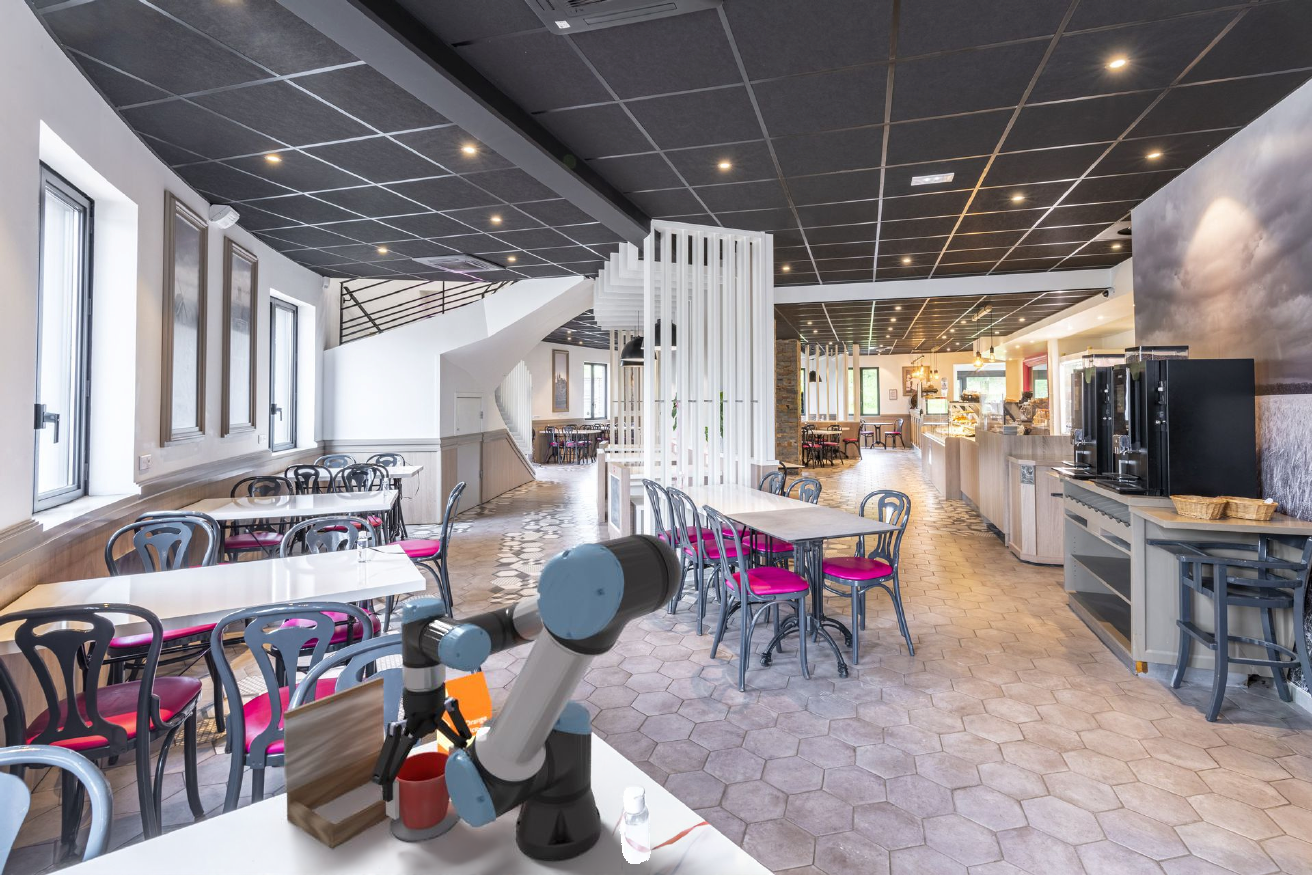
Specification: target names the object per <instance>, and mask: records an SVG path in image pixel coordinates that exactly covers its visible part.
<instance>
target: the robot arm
mask: <svg viewBox="0 0 1312 875" xmlns="http://www.w3.org/2000/svg"><path fill="white" fill-rule="evenodd" d="M682 575H683V574H682V565H681V562H680V559H679V557H678V555H677V553H676V551H675V550H674V549H673V547H672V546H671V545H670V544H669V543H668V542H667V541H665V540H663V539H661V538H660V537H658V536H654V535H652V534H646V533H644V534H643V533H639V534H638V533H637V534H632V535H631V534H630V535H627V536H622V537H617V538H612V539H609V540H603V541H599V542H594V543H590V542H589V543H588V542H587V543H582V544H581V543H580V544H578V545H575V546H572V547H571V548H568V549H565V550H562V551H560V552H558V553H557V554H555V555H554V556H553V557H552V558H550V560H548V562H547V563H546V564H545V565H544V567H543V569H542V571H541V573H540V575H539V578H538V582H537V586H536V587H537V588H536V592H537V593H536V594H535V595H532V596H530V597H527V598H525V599H523V600H520V601H518V602H515V603H513V604H511V605H509V606H506V607H502V608H499V609H495V610H492V611H487V612H484V613H483V612H482V613H479V614H477V615H471V616H469V617H465V618H461V619H457V618H452V617H449V616H446V613H447V609H446V604H445V601H443V600H444V599H441V598H438V597H420V598H416V599H412V600H409V601H407V602H406V603H405V604H403V606H402V611H401V612H402V614H401V624H400V627H401V654H402V655H401V656H402V658H401V659H402V664H401V666H402V686H403V687H402V708H403V712H404V713H403V714H404V715H403V718H402V720H399V721H396V722H395V721H393V720H391V721H389V722H388V723H387V726H386V727H387V730H386V735H385V737H384V744H383V747H382V749H381V752H380V755H379V757H378V760H377V763H376V766H375V768H374V771H373V774H372V776H371V781H370V782H373V783H375V784H377V785H379V786H381V799H383V800H385V801H386V815H388V816H389V818H391V819H392V818H393V819H395V820H396V819H398V818H399V781H397V780H395V779H396V777H397V775H398V773H399V771H400V769H401V768H402V766H403V764H404V762H405V760H406V758H407V757H409V755H410V753H411V752H412V749H413V747H414V746H416V745H417V744H418V742H419V740H420V739H423V738H425V737H426V736H427V735H429V734H430V735H431V734H434V733H436V731H437V729H438V730H439V731H440V732H441V733H442V734H443V735H444V736H445V737H446V738H447V739H448V740H450V741H451V742H452V743H453V744H454V746H453V745H450V746H449V755H450V757H449V758H448V760H447V762H446V766H445V780H446V785H447V790H448V793H449V796H450V799H449V800H450V801H451V802H452V804H453V806H454V808H455V810H456V811H457V813H458V814H459V818H461V819H462V821H463V822H464V823H466V824H468V825H469V826H471V827H474V828H480V827H482V826H484V825H488V824H489V823H492V822H496V820H497V819H498V818H500V817H501V816H503V815H505V814H507V813H509V812H510V811H512V810H514V809H515V808H517V807H519V806H520V809H519V813H518V816H517V819H516V823H515V841H516V844H517V846H518V849H520V850H521V851H522V852H523V853H524V854H526V855H527V856H530V857H531V858H535V859H538V860H544V861H562V860H568V859H572V858H574V857H576V856H579V855H582V854H583V853H585V852H587V851H588V850H590V849H592V848H593V846H594V845H595V844H596V843H597V842H598V840H599V838H600V836H601V831H602V825H601V824H602V822H601V821H602V820H601V813H600V810H599V809H598V807H597V805H596V804H597V803H596V799H595V796H594V793H593V790H592V733H593V729H592V726H591V724H592V723H591V713H590V710H588V708H587V707H586V706H585V705H583V704H581V703H579V702H576V701H574V700H570V699H571V698H572V696H573V694H574V693H575V691H576V690H577V689H578V686H579V684H580V682H581V681H582V679H583V678H584V676H585V674H586V673H587V671H588V669H589V667H590V665H591V664H592V662H593V660H594V658H595V657H599V656H602V655H605V654H607V653H608V652H610V651H611V650H612V648H613V647H614V645H615V644H616V642H617V641H618V639H619V637H620V636H621V634H622V632H623V631H624V629H625V627H626V625H628V624H629V623H630V622H631V621H633V620H636V619H638V618H640V617H644V616H647V615H648V614H651V613H655V612H656V611H659V610H660V609H662V608H664V607H666V606H667V605H668V604H669V603H670V602H671V601H672V600H673V599H674V597H675V596H676V595H677V593H678V591H679V589H680V586H681V582H682ZM533 642H535V643H534V645H533V646H532V648H531V650H530V652H529V654H528V655H527V658H526V659H525V661H524V663H523V665H522V667H521V668H520V671H519V672H518V674H517V677H516V678H515V680H514V682H513V684H512V686H511V688H510V689H509V692H508V694H507V696H506V698H505V699H504V702H503V704H502V705H501V707H500V709H499V711H498V713H497V714H496V715H492V717H491V718H489V719H488V720H486V721H485V722H484V723H483V724H482V725H481V727H480V728H479V730H478V732H477V734H476V736H475V738H474V739H473V741H472V743H471V744H470V745H469V746H468V747H467V745H468V742H466V741H467V740H470V739H471V738H472V733H471V731H470V729H469V727H468V725H467V723H466V721H465V719H464V717H463V715H462V713H461V711H460V709H459V701H458V699H455V698H453V697H450V696H447V697H446V684H445V682H446V679H447V670H446V667H447V668H449V669H452V670H457V671H461V672H464V673H466V672H472V671H475V670H478V669H479V668H480V667H481V666H482V665H483V664H484V663H485V662H486V661H487V660H488V658H489V657H490V656H492V655H495V654H497V653H501V652H503V651H506V650H509V649H513V648H516V647H519V646H520V647H521V646H522V645H526V644H529V643H533ZM445 710H446V711H447V713H448V715H449V716H450V718H451V720H452V722H453V724H454V726H455V728H456V730H457V732H458V734H459V735H458V734H457V733H456V732H455V731H454V730H453V729H451V728H450V727H449V726H448V724H447V723H446V722H445V721H444V720H443V719H442V717H443V715H444V713H445ZM410 735H411V736H412V737H409V736H410ZM463 748H464V749H463ZM389 774H390V775H389Z"/></svg>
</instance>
